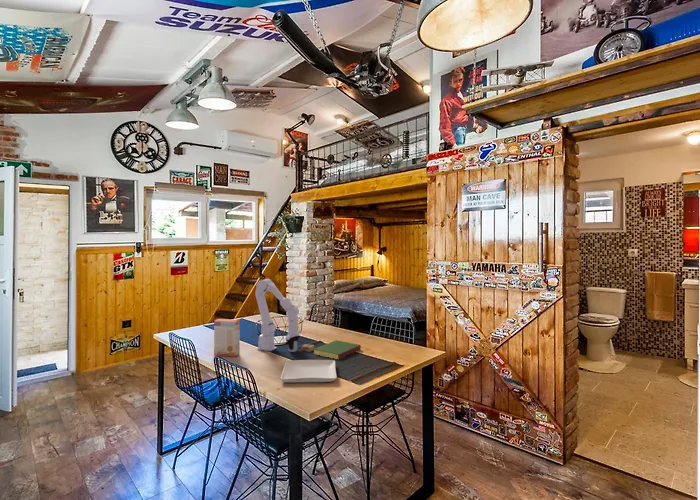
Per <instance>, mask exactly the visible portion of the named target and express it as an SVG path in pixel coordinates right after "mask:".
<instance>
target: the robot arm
mask: <svg viewBox="0 0 700 500" xmlns="http://www.w3.org/2000/svg"><path fill="white" fill-rule="evenodd" d="M255 286H256V288H255V292H254V294H255V298H256V302H257V307H258V311H259V315H260V317H261V324H260V326H261V327H260V328H261V329H260V333H261V334H260V335H259V336H258V345H257V346H258V348H257V350H260V351H267V352H273V351H274V350H275V349H277V348H278V347H277V346H275V331H276V330H277V326H276V324H275V323H274V320H273V319H272V318H271V315H270V311H269V308H268V304H267V299H266V296H265V294H266V293H267V292H271V293H272V294H273V296H275V297H276V298H277V300H279V305H280V306H281V307H282V308H283V309H284V311H285V312H286V315H287V316H288V321H287V322H288V325H287V326H288V327H287V328H288V329H287V331H288V332H287V335H286V336H285V341H286V342H287V345H288V346H289V350H293V345H294V341H297V343H298V342H299V339H300V336H301V335H300V331H299V330H298V328H299V327H298V326H299V325H298V324H299V321H298V320H299V317H298V315H299V314H300V313H299V312H300V311H299V308H298V307H297V306H295V305H294V304H293V303H292V302H291V300H290V298H288V297H284V295H283V294H282V293H281V291H280V290H279V289H278V288H277V286H276V284H275V282H273V281H272V279H270V278H264V279H260V280H259V281H258V282H257V283H256V284H255ZM288 346H287V347H288Z"/></svg>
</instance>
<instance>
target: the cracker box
mask: <svg viewBox="0 0 700 500" xmlns="http://www.w3.org/2000/svg"><path fill="white" fill-rule="evenodd" d="M240 321H241V320H239V319H229V318H228V319H227V318H216V319H214V323H213V326H214V327H213V334H214V335H213V352H214V353H213V355H215V356H224V357H234V358H235V357H236V356H238V355H240V350H241V349H240V342H241V341H240V337H241V335H240V334H241V333H240V329H241V327H240V326H241V325H240Z"/></svg>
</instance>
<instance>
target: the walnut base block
mask: <svg viewBox="0 0 700 500" xmlns="http://www.w3.org/2000/svg"><path fill="white" fill-rule="evenodd" d="M300 349H301V351H302V352H308V353H310V352H312V351H314V349H315V345H314V344H307V343H305V344H303V345H301V348H300Z"/></svg>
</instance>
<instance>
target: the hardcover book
mask: <svg viewBox="0 0 700 500" xmlns="http://www.w3.org/2000/svg"><path fill="white" fill-rule="evenodd" d="M361 349H362V348H361V344H358V343H352V342H347V341H342V340H334V341H331V342H328V343H326V344H323V345H320V346H318V347H314V350H313V355H315V356H319V355H320V357H324V358H328V357H329V359H333V358H334V359H333V360H337V359H338V361H340V360H342V359H344V358H346V357H345V356H347V355H349V354H351V353H353V354H355V353H356V351H357V352H359V351H358V350H360V351H361ZM354 352H355V353H354ZM351 355H352V354H351ZM349 356H350V355H349ZM343 357H344V358H343ZM347 357H348V356H347ZM341 358H342V359H341ZM339 359H340V360H339Z"/></svg>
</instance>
